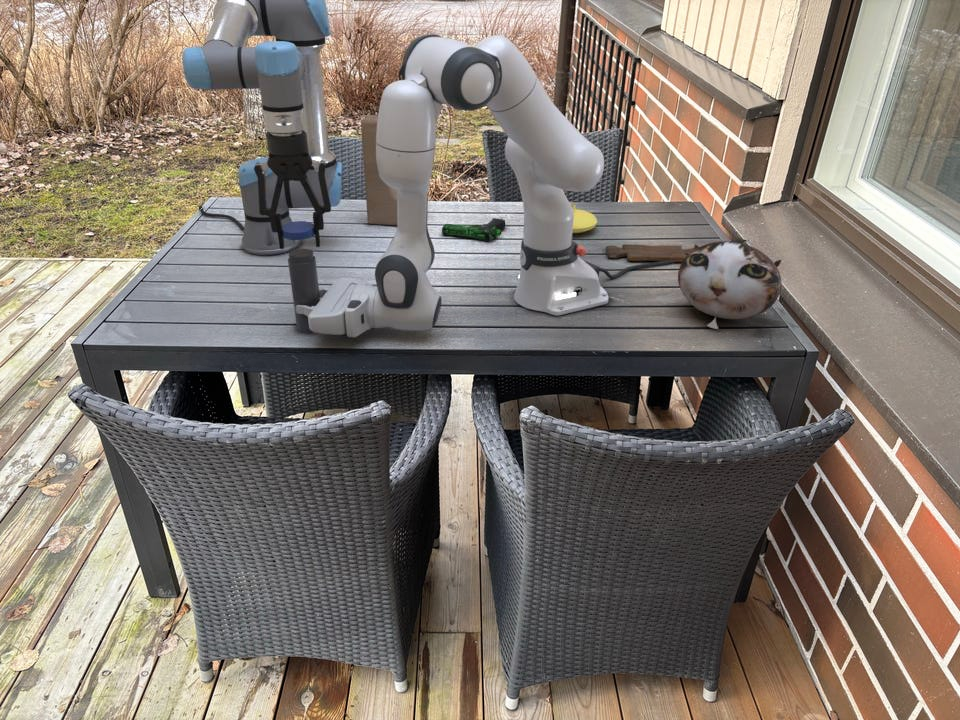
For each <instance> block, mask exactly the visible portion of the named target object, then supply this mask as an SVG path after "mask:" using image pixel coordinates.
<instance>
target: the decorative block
mask: <svg viewBox="0 0 960 720" xmlns="http://www.w3.org/2000/svg"><path fill="white" fill-rule="evenodd" d="M377 121H378V114H368V115H366V116H365V117H363V118H362V119H361V120H360V130H361V131H360V132H361V145H362V160H363V174H364V175H363V176H364V188H365V201H366V203H365V204H366V217H367V223H368V224H370V225H382V226H383V225H384V226H385V225H386V226H397V194H396V190H395V189H393V188H391V187H389V186H388V185H387V184H385V183H384V182H383V180H382V179H381V178H380V176H379V173H378V168H377V161H376V131H377Z"/></svg>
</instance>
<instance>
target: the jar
mask: <svg viewBox="0 0 960 720" xmlns="http://www.w3.org/2000/svg"><path fill="white" fill-rule="evenodd" d="M316 259H317V258H316V256H315V255H314V251H313V250H312V249H311V248H306V247H300V248H295V249H294V250H291V251H289V252H288V258H287V264H288V271H289V278H290V286H291V287H290V288H291V295H292V302H293V308H294V309H293V311H294V316H295V325H296V330H297V331H298V332H300V333H303V334H311V333H312V334H313V333H314V332H313V331H311V330H310V328H309V322H308V316H306V315H304V314H298V313H296V306H297V305H298V304H299V303H301V304H302V303H304V304H306V306H308V307H311V306H316V305H317V304H318V302H319V301H320V300H321V298H320V294H319V289H320V287H319V285H320V284H319V277H318V268H317V260H316Z"/></svg>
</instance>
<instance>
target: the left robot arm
mask: <svg viewBox="0 0 960 720" xmlns="http://www.w3.org/2000/svg"><path fill="white" fill-rule="evenodd" d="M212 12H213V13H212V17H213V21H212V24H211V26H210V29H209V31H208V34H207V35H206V38H205V39H204V42H203V43H202V46H200V45H196V46H188V47H186V48H184V49H183V52H182V54H181V56H182V57H181V59H182V60H181V61H182V63H181V64H182V70H183V74H184V78H185V81H186V83H187V85H188V87H190V88H192V89H194V90H195V89H196V90H206V91H211V90H259V92H260V93H259V94H260V98H261V108H262V116H263V123H264V130H265V131H266V132H267V133H266V134H265V138H266V145H267V153H268V156H262V157H257V158H254V159H251V160H248V161H246V162H244V163H242V164H241V165H240V166H239V168H238V170H237V174H238V186H239V190H240V196H241V201H242V208H243V212H244V213H243V215H244V219H245V220H244V226H243V224H242V223H241V222H240V221H239V220H237V219H236V218H235V217H234V216H231V215H229V214H224V213H210V212H206V211H205V210H204V208H202V207H203V205H201V204H200V205H199V206H198V210H199V212H200V213H201V214H202V215H203V216H206V217H211V218H225V219H229V220H231V221H233V223H235V224H236V225H237V226H238V227H239V228H240V229H241V230H242V231H243V235H242V237H241V246H242V249H243V251H244V252H246V253H248V254H252V255H255V256H256V255H257V256H275V255H281V254H282V255H283V254H285V253H289V252H290V251H292V250H294V249H298V247H299V246H300V244H301V240H289V239H286V238H284V237H283V236H282V229H281V228H282V226H283V225H284V224H287V223H290V222H293V220H292V218H291V216H290V209H313V210H314V211H313V212H312V221H313V222H312V223H313V224H314V231H315V235H314V239H315V247H316V248H320V247H321V237H320V231H322V230H324V229H325V223H324V214H326V213H330V212H331V211H332V208H333V207H334V208H335V207H337V206H338V205H340V203H341V196H342V195H341V194H342V178H343V177H342V176H343V163H342V162H340V161H337V156H336V153H334V152H333V151H332V150H331V149H330V143H329V132H328V131H329V130H328V122H327V121H328V119H327V111H326V100H325V92H324V91H325V90H324V80H323V70H322V58H321V51H322V50H323V48H324V47H325V46H326V43H327V42H326V38H327V37H330V36H331V34H332V32H331V23H330V17H329V14H328V7H327V3H326V0H217V1H216V3H215V5H214V7H213V11H212ZM252 37H275V40H273V41H263V42H259V43H257V44H256V45H255V46H247V44H248V41H249V39H251V38H252ZM201 208H202V209H201ZM200 209H201V210H200Z"/></svg>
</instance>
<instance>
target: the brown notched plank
mask: <svg viewBox="0 0 960 720" xmlns="http://www.w3.org/2000/svg"><path fill="white" fill-rule="evenodd" d="M605 250H606V251H605V252H606V256H607V257H608V259H614V260H615V259H620V258H625V257H626V259H627V261H628V262H644V261H646V262H649V261H651V262H652V261H653V262H660V261H666V260H673V261H675V262H674V263H682V261H683V260H684V259H685V257H686V256H687V255H688V254H689V253H691V252H692V251H693V250H694V247H692V248H686V249H683V246H682V245H678V244H677V245H674V244H673V245H672V244H671V245H670V244H669V245H668V244H667V245H666V244H663V245H662V244H661V245H659V244H658V245H650V244H649V245H648V244H625V243H624V244H622V245H621V247H619V246H617V245H606V246H605Z"/></svg>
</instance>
